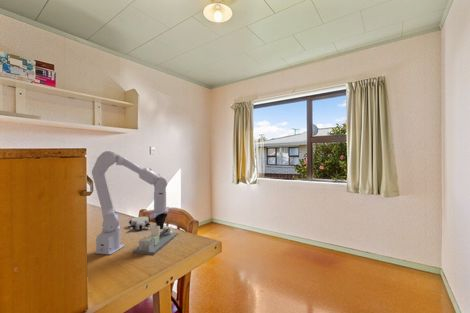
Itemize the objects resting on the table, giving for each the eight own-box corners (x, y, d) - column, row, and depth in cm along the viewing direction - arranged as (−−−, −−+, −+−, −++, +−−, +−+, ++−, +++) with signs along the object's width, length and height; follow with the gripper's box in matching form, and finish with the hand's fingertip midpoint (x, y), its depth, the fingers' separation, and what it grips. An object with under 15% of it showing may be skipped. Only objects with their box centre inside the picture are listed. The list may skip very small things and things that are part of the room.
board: (154, 254, 95) (154, 243, 95) (132, 252, 97) (132, 242, 97) (177, 234, 118) (177, 225, 118) (160, 233, 120) (160, 224, 120)
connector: (149, 251, 96) (149, 241, 96) (138, 250, 97) (138, 240, 97) (155, 246, 101) (155, 236, 101) (145, 245, 102) (145, 236, 102)
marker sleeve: (154, 245, 101) (154, 229, 101) (146, 244, 102) (146, 228, 102) (160, 241, 106) (159, 226, 106) (152, 241, 106) (152, 225, 106)
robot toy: (152, 231, 127) (150, 221, 140) (152, 223, 127) (150, 214, 140) (128, 234, 122) (128, 224, 135) (128, 226, 121) (128, 217, 135)
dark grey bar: (147, 246, 98) (147, 243, 98) (144, 246, 98) (144, 243, 98) (168, 230, 117) (168, 228, 117) (166, 230, 117) (166, 228, 117)
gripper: (160, 205, 102) (160, 234, 102) (174, 198, 116) (174, 224, 116) (146, 204, 103) (146, 233, 103) (161, 198, 117) (161, 223, 118)
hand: (160, 228), depth 110 cm, fingers closed
